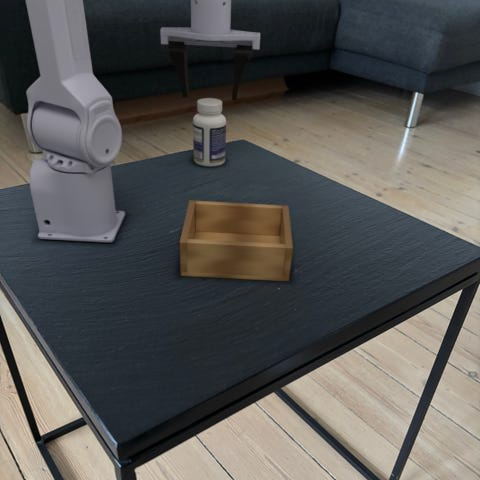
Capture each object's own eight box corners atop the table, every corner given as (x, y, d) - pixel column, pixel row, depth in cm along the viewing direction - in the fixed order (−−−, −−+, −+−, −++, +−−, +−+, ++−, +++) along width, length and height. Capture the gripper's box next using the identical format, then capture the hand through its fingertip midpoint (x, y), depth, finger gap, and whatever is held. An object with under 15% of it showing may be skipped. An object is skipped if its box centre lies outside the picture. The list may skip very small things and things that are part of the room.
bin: (180, 275, 60) (179, 241, 57) (189, 231, 68) (189, 200, 65) (288, 281, 60) (293, 248, 57) (284, 236, 68) (288, 205, 65)
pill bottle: (227, 156, 90) (228, 97, 83) (223, 168, 85) (224, 107, 79) (196, 154, 90) (195, 95, 84) (190, 166, 86) (190, 104, 80)
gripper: (262, -5, 76) (256, 92, 84) (163, -11, 76) (167, 87, 84) (262, 1, 70) (256, 105, 79) (156, -5, 70) (161, 100, 79)
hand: (210, 97), depth 81 cm, fingers open, 7 cm apart
